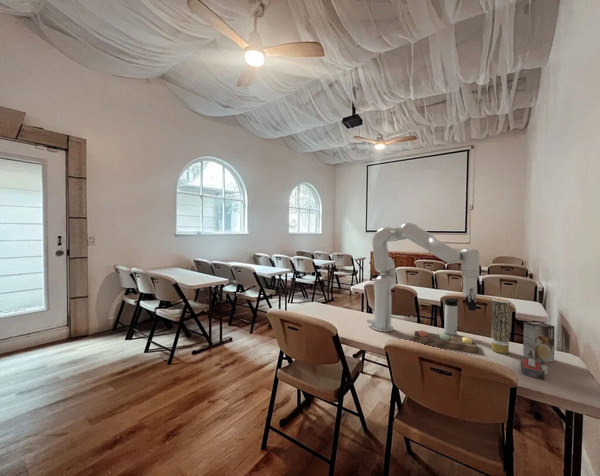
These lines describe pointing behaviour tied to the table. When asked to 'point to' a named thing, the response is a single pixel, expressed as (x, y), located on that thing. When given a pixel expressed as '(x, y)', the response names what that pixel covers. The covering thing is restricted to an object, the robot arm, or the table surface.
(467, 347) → the button panel
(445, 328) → the travel mug
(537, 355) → the coffee box
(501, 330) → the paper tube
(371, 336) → the table surface
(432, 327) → the table surface
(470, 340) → the ochre button
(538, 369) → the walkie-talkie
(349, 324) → the table surface
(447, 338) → the sage button
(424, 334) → the brick red button
